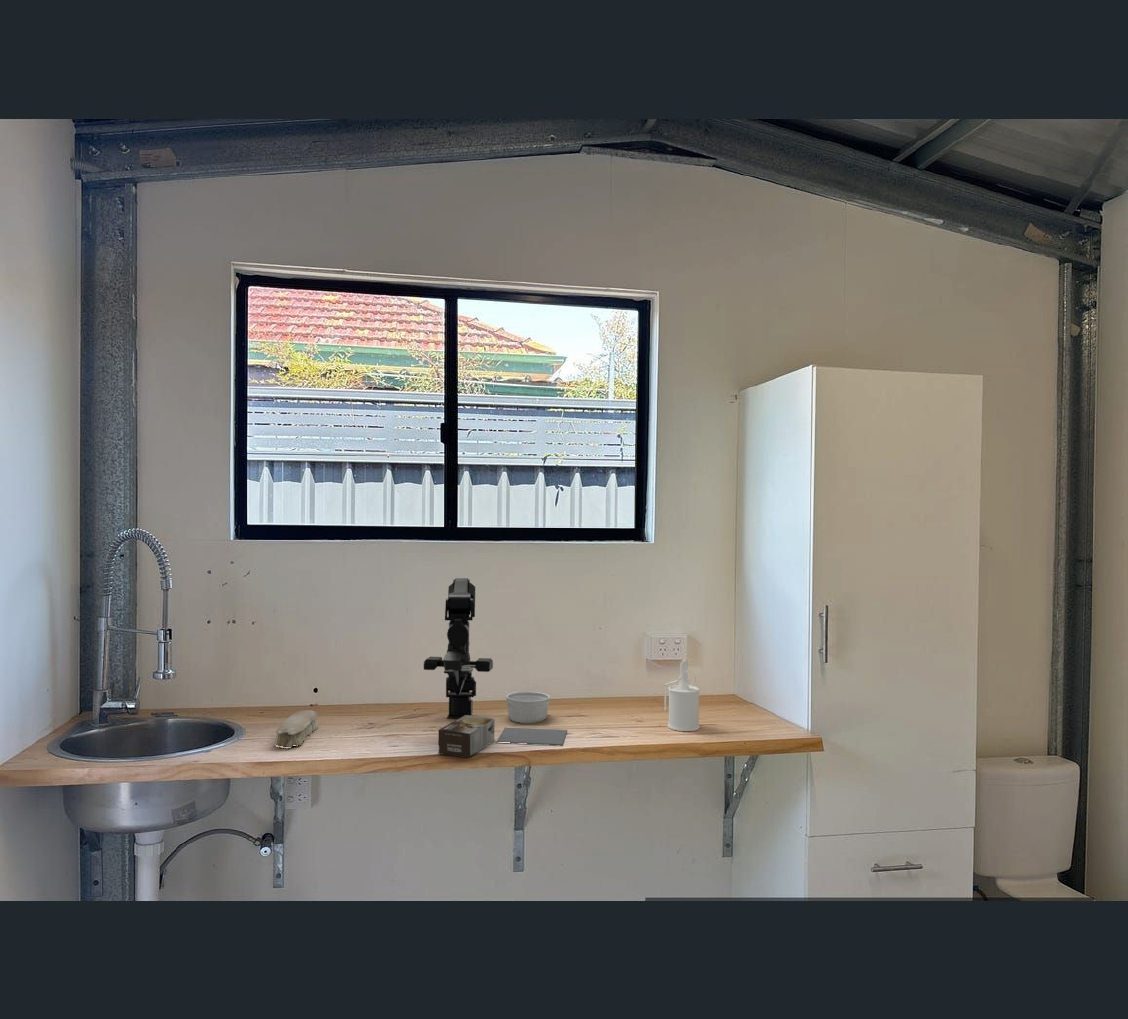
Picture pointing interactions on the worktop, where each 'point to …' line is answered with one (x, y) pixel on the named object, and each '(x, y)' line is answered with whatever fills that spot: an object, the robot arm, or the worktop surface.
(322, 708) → the worktop surface
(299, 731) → the shoe brush
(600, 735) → the worktop surface
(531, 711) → the ramekin
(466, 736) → the coffee box
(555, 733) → the mat
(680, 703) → the oil can
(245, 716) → the worktop surface
